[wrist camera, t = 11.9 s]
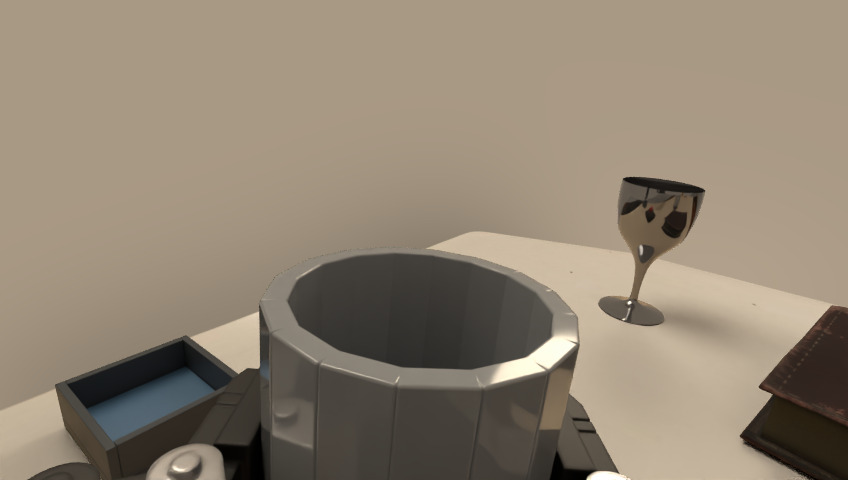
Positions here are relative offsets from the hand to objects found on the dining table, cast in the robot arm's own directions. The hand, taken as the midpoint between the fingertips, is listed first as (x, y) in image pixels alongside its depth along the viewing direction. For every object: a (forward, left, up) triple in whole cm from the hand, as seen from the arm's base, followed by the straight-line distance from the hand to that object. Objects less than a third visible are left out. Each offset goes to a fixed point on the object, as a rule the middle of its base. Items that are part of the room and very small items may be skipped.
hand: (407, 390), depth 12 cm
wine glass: (+31, +32, -15) cm, 47 cm away
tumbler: (0, -3, -6) cm, 6 cm away
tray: (-14, +16, -15) cm, 26 cm away
